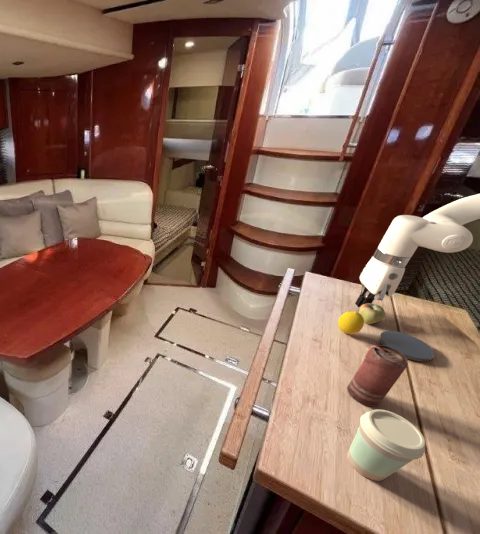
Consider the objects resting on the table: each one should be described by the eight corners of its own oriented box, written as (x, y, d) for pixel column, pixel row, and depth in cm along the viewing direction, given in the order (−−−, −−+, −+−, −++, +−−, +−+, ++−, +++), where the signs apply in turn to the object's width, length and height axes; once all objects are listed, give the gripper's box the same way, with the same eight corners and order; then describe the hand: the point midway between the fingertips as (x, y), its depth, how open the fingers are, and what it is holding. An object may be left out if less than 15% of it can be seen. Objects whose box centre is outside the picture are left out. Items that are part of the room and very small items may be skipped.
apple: (381, 318, 96) (391, 304, 94) (377, 330, 92) (386, 315, 89) (358, 310, 100) (366, 295, 97) (352, 321, 96) (360, 306, 93)
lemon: (332, 324, 95) (343, 304, 91) (355, 330, 92) (367, 309, 88) (334, 335, 91) (345, 314, 87) (358, 342, 88) (370, 320, 84)
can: (348, 380, 77) (374, 339, 70) (381, 397, 72) (412, 355, 65) (341, 394, 73) (367, 352, 66) (375, 412, 69) (407, 369, 62)
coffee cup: (394, 462, 60) (428, 425, 54) (394, 500, 54) (432, 464, 48) (340, 434, 65) (366, 398, 59) (335, 466, 59) (362, 430, 53)
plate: (415, 337, 89) (417, 334, 88) (442, 366, 80) (445, 362, 79) (370, 331, 92) (372, 327, 91) (391, 358, 82) (394, 354, 82)
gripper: (423, 271, 83) (388, 322, 92) (391, 247, 95) (363, 295, 104) (389, 267, 85) (358, 318, 94) (363, 244, 97) (338, 291, 106)
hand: (361, 306), depth 99 cm, fingers closed
